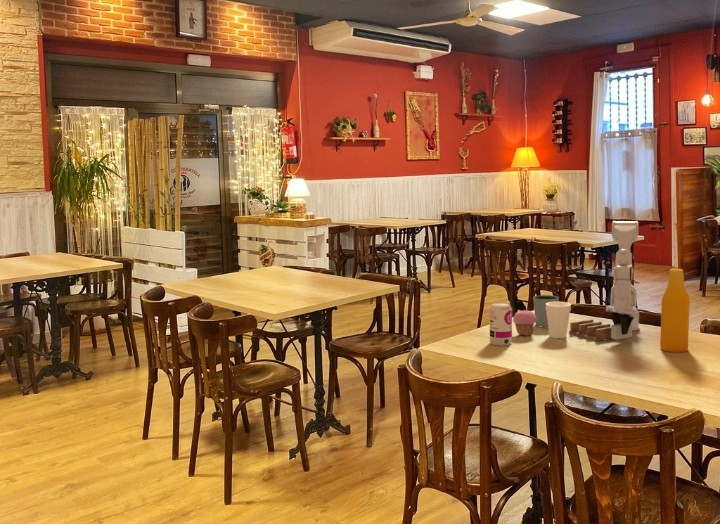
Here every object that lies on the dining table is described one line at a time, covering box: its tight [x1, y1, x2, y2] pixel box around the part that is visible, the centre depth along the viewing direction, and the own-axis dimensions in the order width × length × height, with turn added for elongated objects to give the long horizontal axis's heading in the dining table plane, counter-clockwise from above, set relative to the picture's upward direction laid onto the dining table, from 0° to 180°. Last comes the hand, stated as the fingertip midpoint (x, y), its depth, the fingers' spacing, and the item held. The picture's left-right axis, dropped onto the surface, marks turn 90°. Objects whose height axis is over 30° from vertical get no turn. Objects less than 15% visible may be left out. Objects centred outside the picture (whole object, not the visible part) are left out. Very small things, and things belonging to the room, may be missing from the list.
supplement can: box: [489, 302, 513, 347], centre depth 273 cm, size 8×8×15 cm
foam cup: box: [546, 301, 572, 339], centre depth 281 cm, size 10×9×13 cm
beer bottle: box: [659, 268, 691, 353], centre depth 257 cm, size 9×9×29 cm
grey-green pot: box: [532, 294, 559, 328], centre depth 301 cm, size 10×10×12 cm
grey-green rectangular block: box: [610, 323, 633, 340], centre depth 269 cm, size 8×2×5 cm, turn 115°
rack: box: [568, 319, 612, 342], centre depth 282 cm, size 12×15×4 cm
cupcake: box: [512, 309, 536, 337], centre depth 285 cm, size 9×9×10 cm
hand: (621, 333), depth 269 cm, fingers closed on grey-green rectangular block, 2 cm apart
